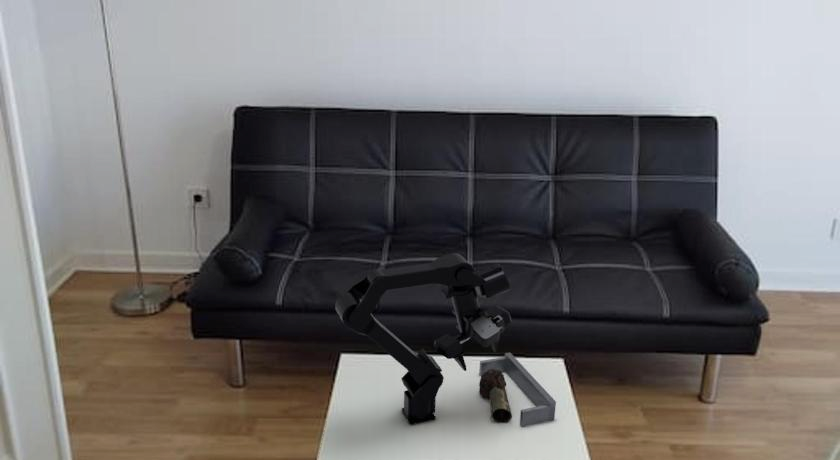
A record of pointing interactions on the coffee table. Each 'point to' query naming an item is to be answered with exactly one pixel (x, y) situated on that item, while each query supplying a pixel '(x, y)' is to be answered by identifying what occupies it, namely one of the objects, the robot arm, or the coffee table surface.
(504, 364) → the grey u-shaped bracket
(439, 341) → the robot arm
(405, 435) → the coffee table surface
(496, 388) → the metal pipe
